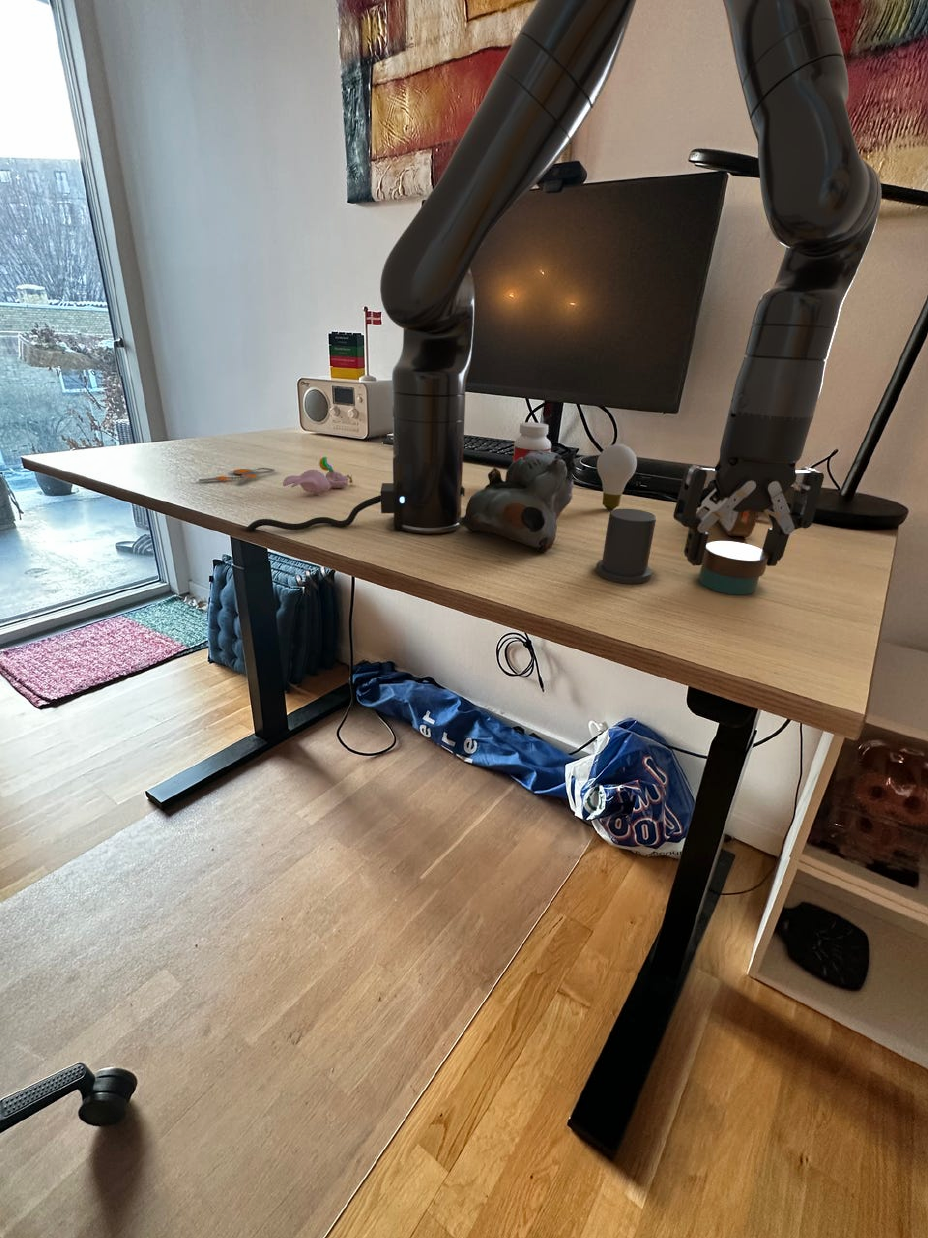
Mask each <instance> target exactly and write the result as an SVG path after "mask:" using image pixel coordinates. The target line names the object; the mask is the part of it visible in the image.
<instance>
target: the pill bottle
mask: <svg viewBox="0 0 928 1238" xmlns="http://www.w3.org/2000/svg"><path fill="white" fill-rule="evenodd" d="M549 426H550V425H549V424H547V423H542V422H532V421H531V422H529V421H528V422H527V421H526V422H521V423H520V424H519V433H520V436H518V437H517V438H516V439H515V440H514V444H513V456H512V463H513V462H514V461H516V460H518V459H519V458H520V457H524V456H525V454H527V453H529V452H530V451H538V450H541V451H550V452H552V451H551V450H552V443H551V440H549V439H548V438H547V435H549V428H550V427H549Z"/></svg>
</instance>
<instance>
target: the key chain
mask: <svg viewBox="0 0 928 1238" xmlns="http://www.w3.org/2000/svg"><path fill="white" fill-rule="evenodd" d="M260 470H263V471H260ZM232 472H233V474H235V475H241V476H224V475H221V476H216V477H207V478H200V479H198V481H199V482H207V481H226V480H233V479H234V480H236V479H239V480H237V481H236V483H237V484H242V483H244V482H246V481H248V480H250V479H254V478H256V475H260V474H261V475H262V474H267V473H273V472H276V470H275V469H274V468H268V467H259V468H256V469H249V468H238V469H234V470H233V471H232Z"/></svg>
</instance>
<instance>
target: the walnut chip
mask: <svg viewBox="0 0 928 1238" xmlns="http://www.w3.org/2000/svg"><path fill="white" fill-rule="evenodd" d="M762 549H763V548H760V547H758V546H754V545H751V544H747V543H744V542H738V541H731V540H730V541H729V540H715V541H710V542H707V544H706V548H705V553H704V557H703V561H702V564H701V566H702V565H703V566H704V567H705V568H706V569H708V570H710V571H712V572H715V573H717V574H721V575H724V576H729V577H735V578H757V577H759V578H760V577H762V576H763V575H764V574H765V571H766V568H767V561H768V558H769V555H768V553H767V552H765V551H764V550H762Z"/></svg>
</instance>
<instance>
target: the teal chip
mask: <svg viewBox="0 0 928 1238" xmlns="http://www.w3.org/2000/svg"><path fill="white" fill-rule="evenodd" d="M759 579H760V577H757V578H735V577H729V576H724V575H721V574H717V573H715V572H712V571H710V570H708V569H706V568H705V567H704V566H703V565H702V564H701V565H700V571H699V575H698V582H699V584H701V585H702V586H704V587H705V588H707V589H709V590H712V591H714V592H717V593H722V594H726V595H727V594H728V595H737V596H740V595H750V594H752V593H754V592H755V591H756V589H757V586H758V583H759Z"/></svg>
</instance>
